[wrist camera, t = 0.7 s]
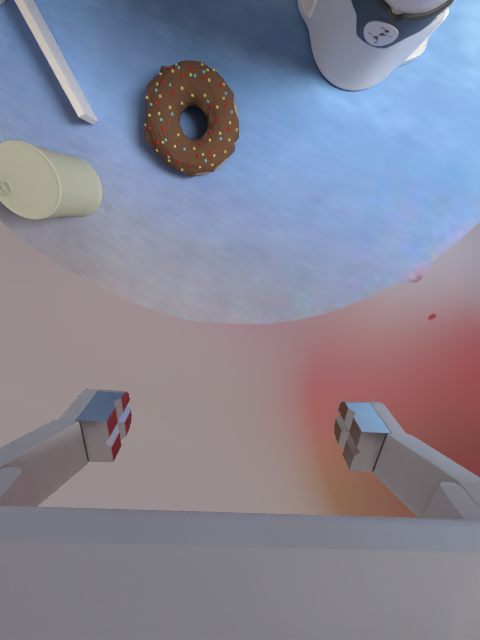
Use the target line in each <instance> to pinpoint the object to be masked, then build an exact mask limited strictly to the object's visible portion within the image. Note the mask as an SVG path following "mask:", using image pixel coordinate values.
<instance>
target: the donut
mask: <svg viewBox="0 0 480 640" xmlns="http://www.w3.org/2000/svg"><path fill="white" fill-rule="evenodd" d="M189 106H195V107H198V108H200V109H201V110H202V111H203V112H204V114H205V116H206V118H207V121H208V126H207V130H206V133H205V134H204V135H203V136H201V137H200V138H198V139H189V138H188V137H186V136H185V135H184V134H183V131H182V129H181V126H180V115H181V113H182V111H184V110H185V109H186V108H187V107H189ZM144 125H145V126H146V127H145V140H146V141H147V142H148V143H149V144H150V146H151V147H152V148H153V149H154V150H155V151H156V153H157V154H158V155H159V156H160V157H161V158H162V160H163V161H164V162H165V163H166V164H167V165H169V166H170V167H172V168H174V169H176V170H179V171H181V172H183V173H185V174H188V175H189V176H191V177H193V176H194V175H201V174H207V173H210V172H214V171H215V170H216V169H218V168H219V167H220V166H221V165H222V164H223V163H224V162H225V161H226V160H227V159H228V157H229V156H230V155H231V154H232V153H233V152H234V151H235V143H236V141H237V139H238V138H239V120H238V112H237V107H236V104H235V101H234V95H233V92H232V91H231V89H230V88H229V87H228V85H227V84H226V83H225V81H224V80H223V78H222V77H221V76H220V75H219V74H218V73H217V72H215V69H214V68H213V69H211V68H210V67H208V66H207V65H205V64H204V63H202V62H197V61H181V62H179V63H175V65H173V66H170V67H166V66H161V71H160V73H159V75H158V76H156V77H155V78H154V79H153V80H152V81H150V82H149V83H148V86H147V96H146V123H145V124H144Z"/></svg>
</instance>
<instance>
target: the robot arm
mask: <svg viewBox="0 0 480 640" xmlns="http://www.w3.org/2000/svg"><path fill="white" fill-rule="evenodd" d="M454 1H455V0H298V8H299V11H300V13H301V16H302V17H303V19H304V21H305V23H306V25H307V27H308V30H309V35H310V42H311V48H312V52H313V56H314V59H315V61H316V64H317V66H318V68H319V69H320V71H321V73H322V74H323V75H324V76H325V78H326V79H327V80H328V81H330V82H331V83H332V84H334V85H335V86H337V87H339V88H342V89H345V90H352V91H356V90H363V89H367V88H369V87H372V86H374V85H376V84H377V83H379V82H381V81H382V80H383V79H385V78H386V77H387V76H388V75H389V74H390V73H391V72H392V71H393V70H395V69H396V68H397V67H399V66H401V65H404V64H407V63H409V62H412V61H414V60H415V59H417V58H418V57H419V56H420V55H421V54H422V53H423V52H424V50H425V48H426V45H427V42H428V38H429V36H430V35H431V34H432V33H433V32H434V31H435V30H436V29H437V27H438V26H439V25H440V24H441V23H442V22H443V21H444V20H445V18H446V17H447V15H448V13H449V10H448V8H449V7H450V6H451V5H452V4H453V3H454ZM129 401H130V398H129V393H128V392H126V391H111V390H93V389H86V390H84V391H83V392H82V393H81V394H80V395H79V396H78V398H77V399H76V400H75V401H74V402H73V403H72V405H71V406H70V407H69V408H68V409H67V411H66V412H65V413H64V414H63V415H62V416H61V418H60V419H59V420H53V421H51V422H49V423H47V424H45V425H43V426H42V427H39V428H37V429H36V430H34V431H32V432H30V433H28V434H26V435H24V436H22V437H20V438H18V439H16V440H14V441H12V442H10V443H8V444H7V445H5V446H3V447H1V448H0V640H480V478H479V477H478V476H476V475H474V474H473V473H471V472H470V471H468V470H466V469H465V468H463V467H462V466H460V465H458V464H457V463H455V462H454V461H452V460H450V459H449V458H447V457H446V456H444V455H442V454H441V453H439V452H438V451H436V450H434V449H433V448H431V447H430V446H428V445H426V444H425V443H423V442H422V441H420V440H418V439H417V438H415V437H414V436H412V435H409V434H406V433H405V432H404V431H403V429H402V428H401V427H400V425H399V424H398V423H397V422H396V420H395V419H394V418H393V416H392V415H391V414H390V412H389V411H388V410H387V408H386V407H385V405H384V404H382V403H381V402H345V401H342V402H341V403H340V405H339V408H338V410H339V412H340V414H341V415H340V416H338V417H337V418H336V420H335V425H334V433H335V437H336V440H337V443H338V444H339V445H340V446H341V447H342V448H343V449H344V451H343V456H344V459H345V461H346V464H347V466H348V468H349V470H350V471H367V472H373V474H374V475H375V476H376V477H377V478H378V479H379V480H380V481H381V482H382V483H383V484H384V485H386V486H387V487H388V488H389V489H390V490H391V491H392V492H393V493H394V494H395V495H396V496H397V497H398V498H399V499H400V500H401V501H402V502H403V503H404V504H405V505H406V506H407V507H408V508H409V509H410V510H411V511H412V512H413V513H414V514H415V515H416V516H417V517H418V518H402V517H370V516H336V515H335V516H334V515H302V514H267V513H234V512H201V511H198V512H197V511H167V510H133V509H132V510H131V509H99V508H98V509H97V508H65V507H64V508H63V507H37V506H38V505H39V504H41V503H42V502H43V501H44V500H45V499H47V498H48V497H49V496H50V495H51V494H52V493H54V492H55V491H56V490H57V489H58V488H60V487H61V486H62V485H63V484H64V483H65V482H67V481H68V480H69V479H70V478H71V477H73V476H74V475H75V474H76V473H77V472H78V471H80V470H81V469H82V468H83V467H84V466H86V465H87V464H88V462H114V460H115V458H116V456H117V454H118V452H119V450H120V448H121V439H123V438H124V437H125V436H126V435H127V433H128V431H129V428H130V424H131V416H132V414H131V409H130V408H129V407H128V406H127V404H128V403H129Z"/></svg>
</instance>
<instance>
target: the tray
mask: <svg viewBox="0 0 480 640" xmlns="http://www.w3.org/2000/svg"><path fill="white" fill-rule="evenodd" d="M5 1H6V0H0V5H1V4H2V3H4V2H5ZM14 1H15V2H16V4H17V6H18V8H19V10H20V11H21V13H22V15H23V17H24V19H25V21H26V22H27V24H28V26H29V28H30V30H31V31H32V33H33V35H34V37H35V39H36V40H37V42H38V44H39V46H40V48H41V50H42V51H43V53H44V55H45V57H46V59H47V60H48V62H49V64H50V66H51V68H52V69H53V71H54V73H55V75H56V77H57V79H58V80H59V82H60V84H61V86H62V88H63V89H64V91H65V93H66V95H67V97H68V98H69V100H70V102H71V104H72V106H73V108H74V109H75V111H76V113H77V115H78V117H80V118H81V119H83V120H85V121H87V122H89V123H91V124H92V125H93V124H95V123H97V122H98V120H97V118H96V116H95V114H94V113H93V111H92V109H91V107H90V105H89V103H88V101H87V99H86V97H85V96H84V94H83V92H82V90H81V88H80V86H79V84H78V82H77V80H76V79H75V77H74V75H73V73H72V71H71V69H70V67H69V65H68V64H67V62H66V60H65V58H64V56H63V54H62V52H61V50H60V48H59V47H58V45H57V43H56V41H55V39H54V37H53V35H52V33H51V31H50V30H49V28H48V26H47V24H46V22H45V20H44V18H43V16H42V15H41V13H40V11H39V9H38V7H37V5H36V3H35V1H34V0H14Z"/></svg>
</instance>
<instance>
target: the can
mask: <svg viewBox="0 0 480 640" xmlns="http://www.w3.org/2000/svg"><path fill="white" fill-rule="evenodd" d="M102 194H103V192H102V185H101V182H100V179H99V177H98V175H97V173H96V172H95V170H94V169H93V168H92V167H91V166H90V165H89V164H88V163H87V162H85V161H84V160H82V159H81V158H79V157H76V156H72V155H65V154H61V153H57V152H54V151H50V150H47V149H43V148H40V147H37V146H33V145H31V144H28V143H26V142H23V141H18V140H8V141H4V142H1V143H0V201H1V202H2V203H3V205H4V206H6V207H7V208H8V209H9V210H10V211H12V212H13V213H15V214H17V215H19V216H21V217H24V218H27V219H33V220H39V219H44V218H53V217H66V216H80V217H81V216H88V215H90V214H92V213H94V212H95V211H96V210H97V209H98V207H99V206H100V204H101V201H102Z"/></svg>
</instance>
